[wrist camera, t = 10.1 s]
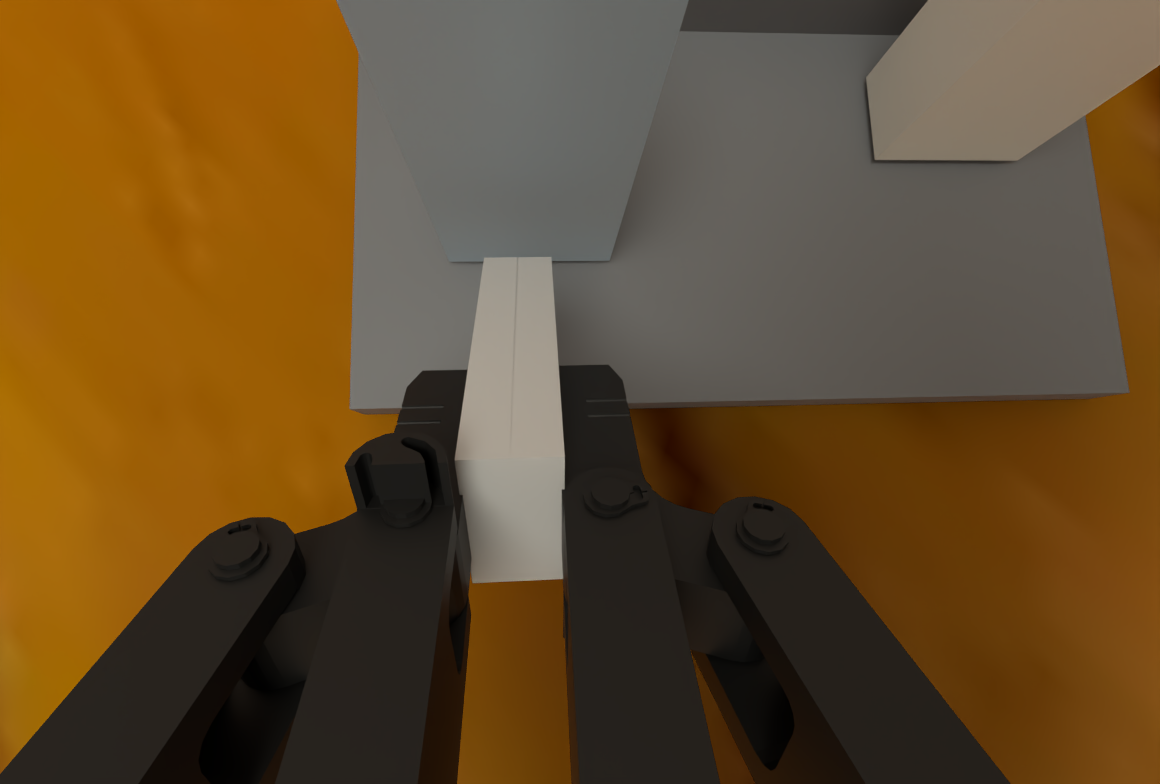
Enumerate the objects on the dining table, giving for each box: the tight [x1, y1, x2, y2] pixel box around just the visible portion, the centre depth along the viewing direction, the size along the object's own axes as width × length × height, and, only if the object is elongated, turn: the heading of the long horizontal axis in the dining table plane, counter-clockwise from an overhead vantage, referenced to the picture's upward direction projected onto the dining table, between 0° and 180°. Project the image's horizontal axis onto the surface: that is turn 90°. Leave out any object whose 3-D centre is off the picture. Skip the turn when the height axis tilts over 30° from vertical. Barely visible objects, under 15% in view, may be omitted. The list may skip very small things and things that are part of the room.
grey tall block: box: [336, 0, 689, 262], centre depth 14 cm, size 5×3×11 cm, turn 92°
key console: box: [350, 0, 1129, 414], centre depth 19 cm, size 25×16×5 cm, turn 92°
